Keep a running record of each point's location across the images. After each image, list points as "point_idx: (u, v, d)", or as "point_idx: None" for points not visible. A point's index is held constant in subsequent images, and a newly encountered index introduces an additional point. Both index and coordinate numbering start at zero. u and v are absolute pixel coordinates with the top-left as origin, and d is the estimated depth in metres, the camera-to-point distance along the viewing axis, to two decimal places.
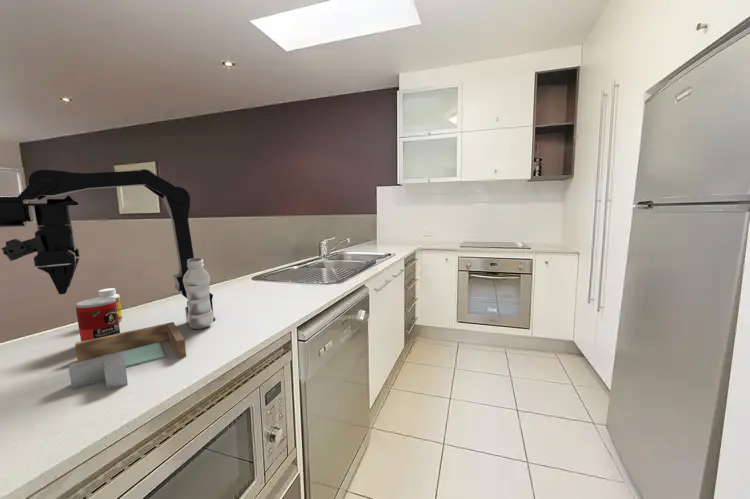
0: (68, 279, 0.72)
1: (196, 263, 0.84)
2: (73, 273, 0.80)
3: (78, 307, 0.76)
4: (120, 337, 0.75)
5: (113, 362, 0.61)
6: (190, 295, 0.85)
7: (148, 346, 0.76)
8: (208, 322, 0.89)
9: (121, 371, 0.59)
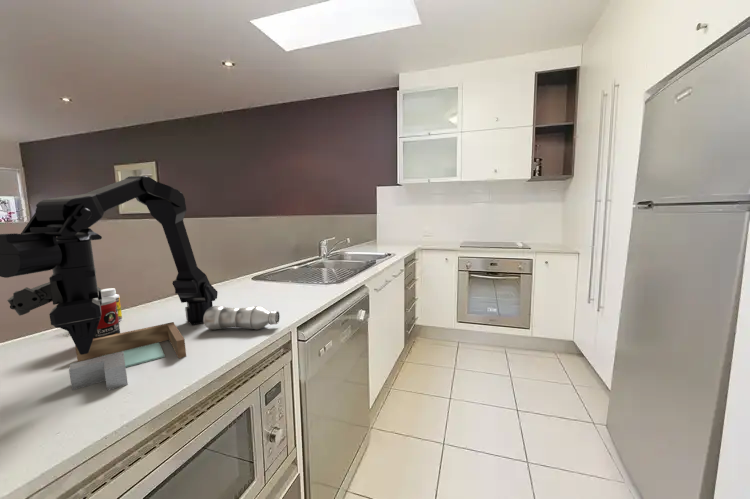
0: (91, 335, 0.57)
1: None
2: None
3: None
4: (120, 337, 0.75)
5: (113, 362, 0.61)
6: (241, 325, 0.85)
7: (148, 346, 0.76)
8: None
9: (121, 371, 0.59)
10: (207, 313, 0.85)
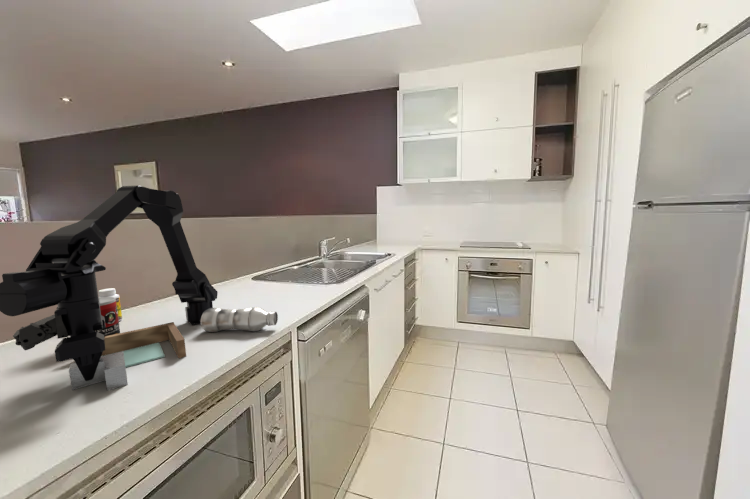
0: (96, 363, 0.59)
1: None
2: None
3: None
4: (120, 337, 0.75)
5: (113, 362, 0.61)
6: (240, 329, 0.85)
7: (148, 346, 0.76)
8: None
9: (121, 371, 0.59)
10: (203, 320, 0.84)
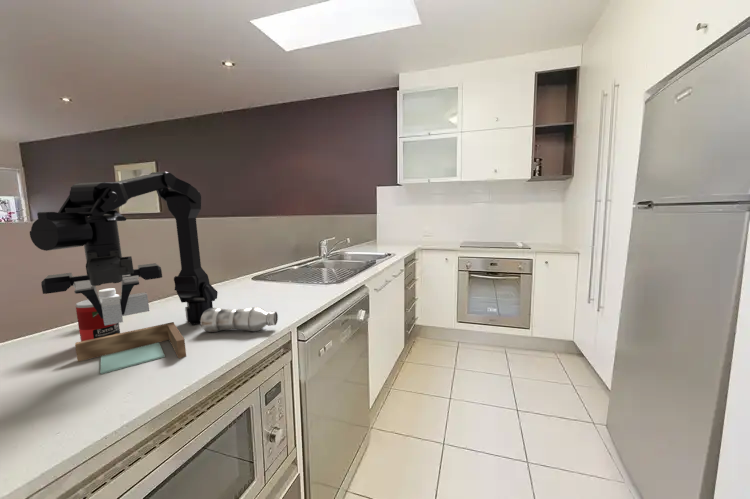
0: None
1: None
2: None
3: (78, 307, 0.76)
4: (120, 337, 0.75)
5: (131, 295, 0.72)
6: (240, 329, 0.85)
7: (148, 346, 0.76)
8: None
9: None
10: (203, 320, 0.84)
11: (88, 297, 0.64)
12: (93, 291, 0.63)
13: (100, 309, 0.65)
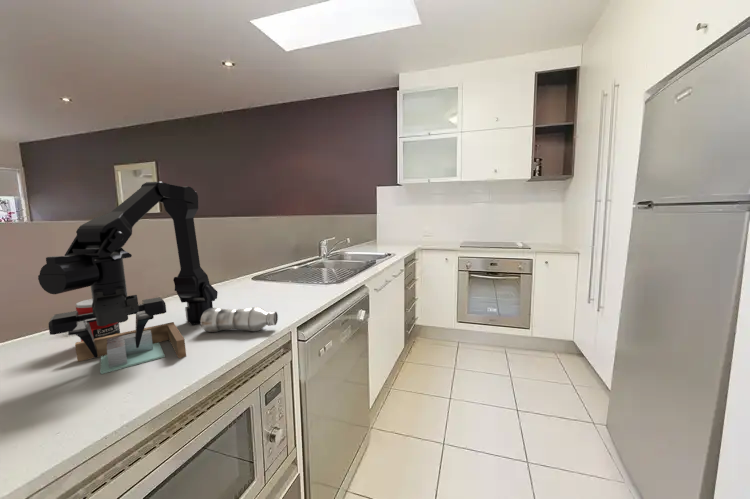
0: None
1: None
2: None
3: (78, 307, 0.76)
4: None
5: None
6: (240, 329, 0.85)
7: None
8: None
9: None
10: (203, 320, 0.84)
11: (82, 337, 0.63)
12: (87, 332, 0.63)
13: (94, 349, 0.65)
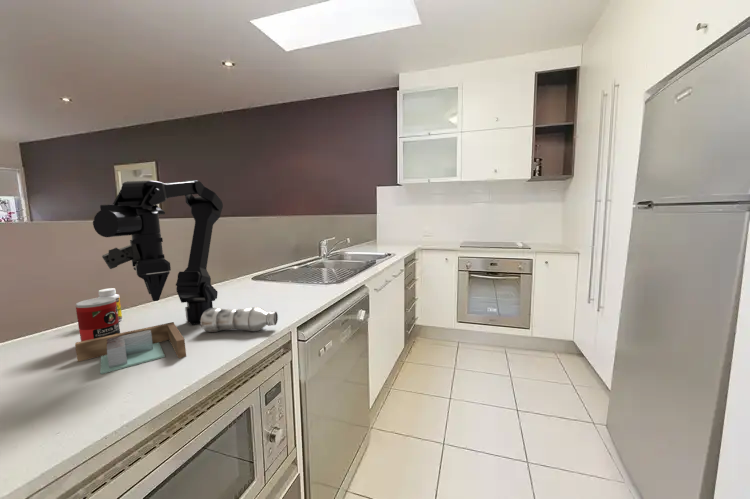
0: (162, 286, 0.73)
1: None
2: None
3: (78, 307, 0.76)
4: None
5: (135, 334, 0.73)
6: (240, 329, 0.85)
7: None
8: None
9: None
10: (203, 320, 0.84)
11: None
12: None
13: (146, 286, 0.80)
